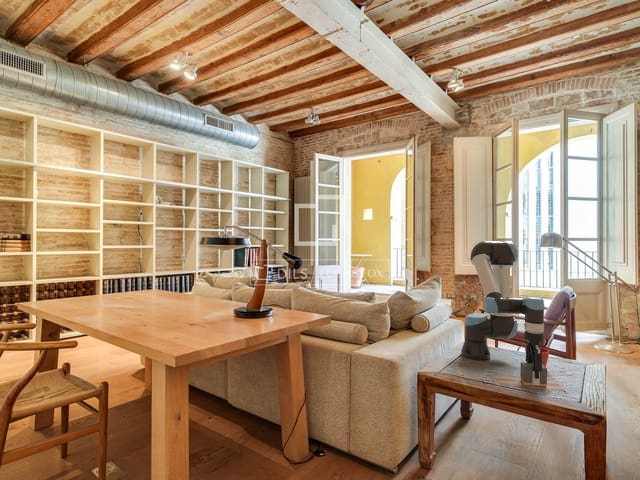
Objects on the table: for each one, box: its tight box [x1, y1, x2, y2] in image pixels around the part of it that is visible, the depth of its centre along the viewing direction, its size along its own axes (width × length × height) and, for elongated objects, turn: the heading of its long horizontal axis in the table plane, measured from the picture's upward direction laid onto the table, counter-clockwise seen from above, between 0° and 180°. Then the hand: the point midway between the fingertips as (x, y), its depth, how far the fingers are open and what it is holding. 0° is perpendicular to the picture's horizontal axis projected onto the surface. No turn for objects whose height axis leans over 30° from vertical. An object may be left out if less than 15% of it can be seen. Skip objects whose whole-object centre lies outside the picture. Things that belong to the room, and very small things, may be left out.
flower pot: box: [524, 346, 550, 368], centre depth 189 cm, size 11×11×10 cm
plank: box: [493, 374, 567, 394], centre depth 168 cm, size 13×26×1 cm, turn 78°
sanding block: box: [519, 361, 548, 386], centre depth 167 cm, size 6×9×8 cm, turn 78°
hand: (533, 382), depth 167 cm, fingers closed on sanding block, 6 cm apart
